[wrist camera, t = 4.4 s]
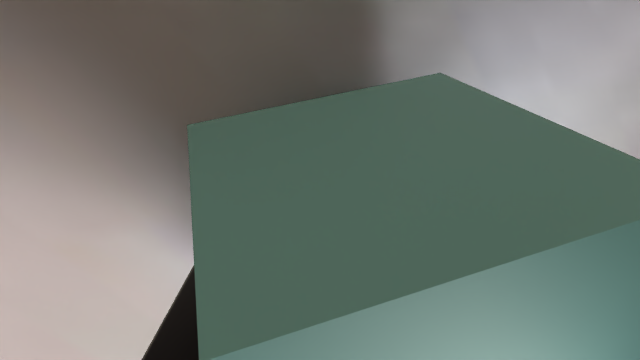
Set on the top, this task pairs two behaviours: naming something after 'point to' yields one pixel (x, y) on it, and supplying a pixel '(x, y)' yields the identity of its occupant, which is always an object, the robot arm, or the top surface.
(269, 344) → the teal painted block
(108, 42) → the top surface
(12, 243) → the top surface
